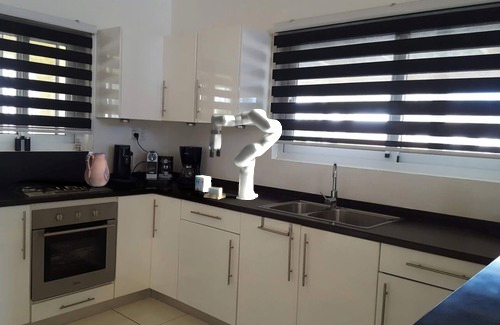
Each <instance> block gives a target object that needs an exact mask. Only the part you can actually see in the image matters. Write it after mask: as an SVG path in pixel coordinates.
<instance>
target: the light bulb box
mask: <svg viewBox="0 0 500 325" xmlns="http://www.w3.org/2000/svg"><path fill="white" fill-rule="evenodd" d="M211 180H212V176H207V175H203V174H202V175H195V182H194V184H195V186H194V188H195V189H194V190H195V191H199V192H203V193H205V192H206V193H208V187H212V182H211Z"/></svg>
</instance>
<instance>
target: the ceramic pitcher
mask: <svg viewBox="0 0 500 325" xmlns="http://www.w3.org/2000/svg"><path fill="white" fill-rule="evenodd" d="M85 165H86V167H85V169H84V170H85V171H84V180H85V182H86V184H87V185H89V186H90V187H94V188H95V187H104V186H105V185H107V183H108V182H109V179H110V170H109V166H108V164H107V160H106V152H101V151H99V152H95V151H90V152H88V154H86V156H85Z"/></svg>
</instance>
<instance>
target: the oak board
mask: <svg viewBox="0 0 500 325" xmlns="http://www.w3.org/2000/svg"><path fill="white" fill-rule="evenodd" d="M226 196H227V195H226V193H223V192H222V196H220V195H213V194H208V193H204V195H203V198H205V199H206V198H207V199H214V200H220V199H224V198H226Z"/></svg>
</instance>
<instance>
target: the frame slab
mask: <svg viewBox="0 0 500 325" xmlns="http://www.w3.org/2000/svg"><path fill="white" fill-rule="evenodd" d="M222 193H223V187H216V186H211V187H208V191H207V194H213V195H220V196H222Z"/></svg>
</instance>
